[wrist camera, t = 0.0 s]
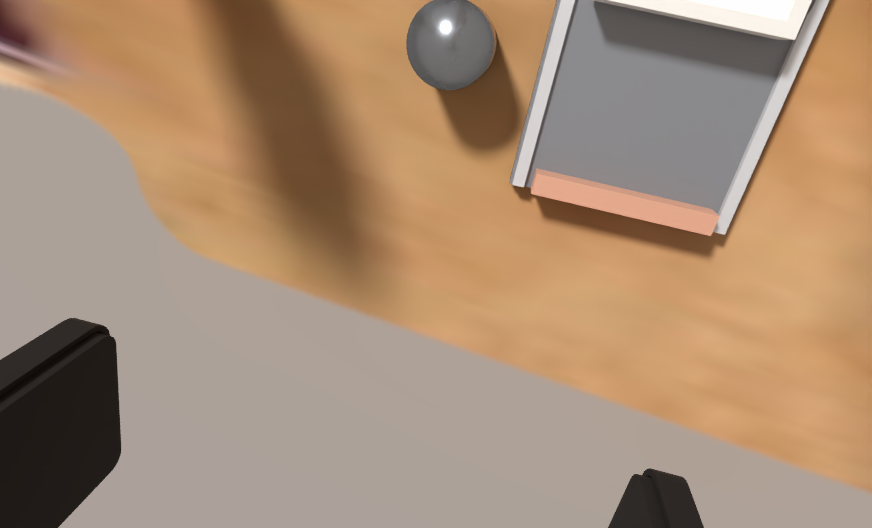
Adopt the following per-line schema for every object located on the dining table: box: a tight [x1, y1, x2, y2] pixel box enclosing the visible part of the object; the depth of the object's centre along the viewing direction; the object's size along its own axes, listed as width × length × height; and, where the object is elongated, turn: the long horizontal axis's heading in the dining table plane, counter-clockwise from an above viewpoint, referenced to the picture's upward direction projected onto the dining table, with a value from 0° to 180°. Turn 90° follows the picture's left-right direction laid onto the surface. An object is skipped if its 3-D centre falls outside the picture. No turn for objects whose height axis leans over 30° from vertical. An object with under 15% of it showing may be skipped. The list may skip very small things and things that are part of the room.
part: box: [407, 0, 497, 90], centre depth 34 cm, size 5×5×5 cm
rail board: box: [510, 0, 830, 236], centre depth 32 cm, size 25×15×3 cm, turn 168°
